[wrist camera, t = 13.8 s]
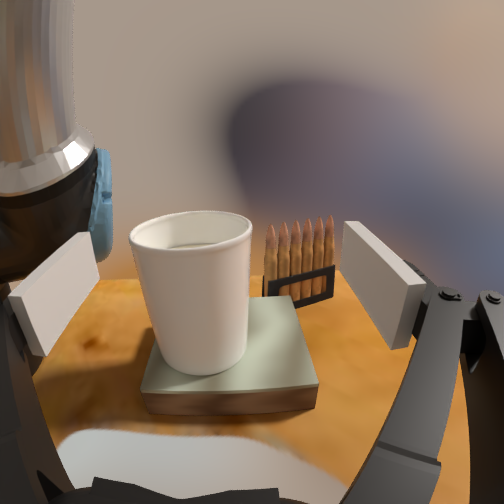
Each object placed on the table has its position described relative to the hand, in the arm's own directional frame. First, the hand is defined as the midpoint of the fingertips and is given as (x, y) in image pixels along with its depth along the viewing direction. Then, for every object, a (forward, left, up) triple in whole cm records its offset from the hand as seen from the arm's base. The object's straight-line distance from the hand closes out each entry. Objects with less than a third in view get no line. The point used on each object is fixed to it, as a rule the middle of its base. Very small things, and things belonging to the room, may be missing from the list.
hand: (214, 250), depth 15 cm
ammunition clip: (+9, +22, -17) cm, 29 cm away
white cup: (-3, +9, -14) cm, 17 cm away
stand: (0, +11, -17) cm, 20 cm away
